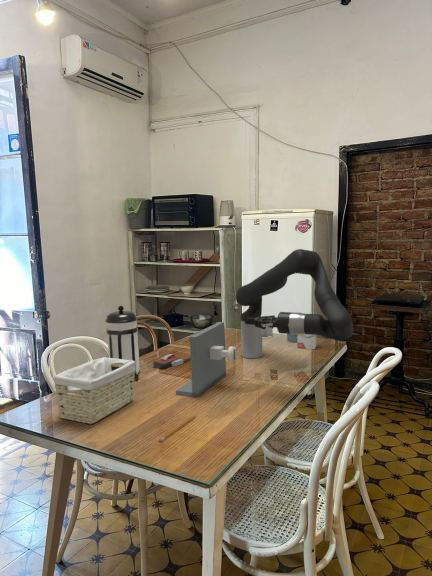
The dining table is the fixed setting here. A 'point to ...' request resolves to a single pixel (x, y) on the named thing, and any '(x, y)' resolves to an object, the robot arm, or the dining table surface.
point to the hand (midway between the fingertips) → (245, 320)
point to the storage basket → (94, 389)
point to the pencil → (176, 429)
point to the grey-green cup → (292, 338)
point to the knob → (229, 353)
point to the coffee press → (123, 337)
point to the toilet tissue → (266, 332)
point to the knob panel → (205, 360)
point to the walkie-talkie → (169, 361)
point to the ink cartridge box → (306, 341)
